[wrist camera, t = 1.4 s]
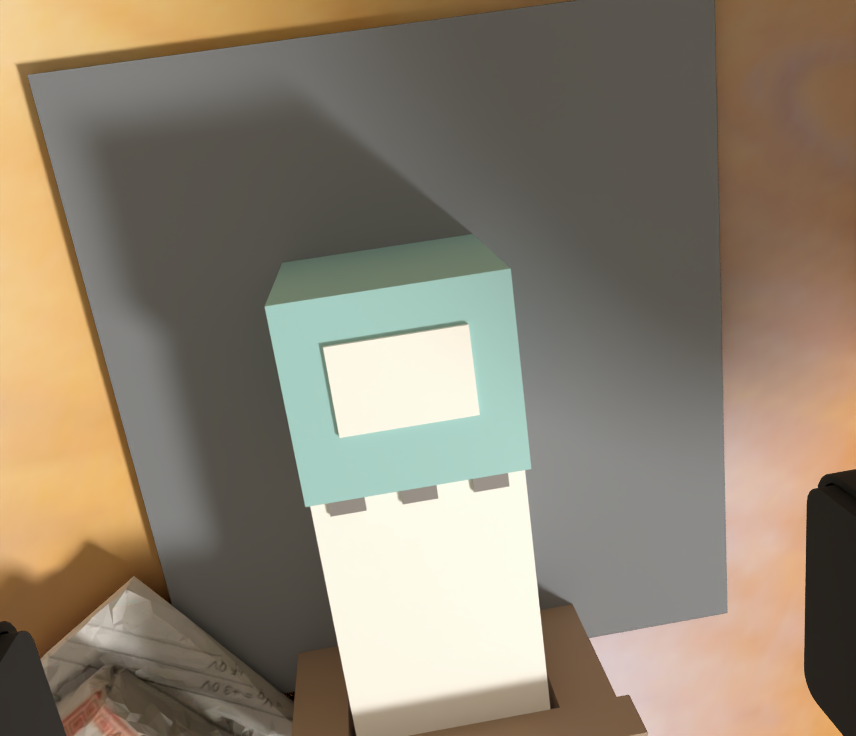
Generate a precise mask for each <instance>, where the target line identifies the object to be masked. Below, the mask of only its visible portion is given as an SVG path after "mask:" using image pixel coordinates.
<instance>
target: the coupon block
mask: <svg viewBox="0 0 856 736" xmlns="http://www.w3.org/2000/svg"><path fill="white" fill-rule="evenodd" d="M310 508H311V513H312V518H313V523H314V528H315V533H316V538H317V543H318V548H319V553H320V558H321V563H322V567H323V572H324V577H325V582H326V587H327V592H328V597H329V602H330V607H331V612H332V617H333V622H334V627H335V632H336V637H337V642H338V646H336V647H330V648H325V649H319V650H314V651H308V652H302V653H298V662H297V675H296V687H295V699H294V712H293V724H292V736H648V732H647V730H646V728H645V726H644V724H643V722H642V720H641V718H640V716H639V714H638V712H637V710H636V708H635V706H634V704H633V702H632V700H631V698H630V696H629V695H625V696H620V697H616V695H615V693H614V691H613V689H612V686H611V684H610V682H609V680H608V678H607V676H606V674H605V672H604V669H603V667H602V665H601V663H600V661H599V659H598V657H597V655H596V653H595V650H594V648H593V646H592V644H591V642H590V640H589V638H588V636H587V633H586V631H585V629H584V627H583V625H582V623H581V621H580V619H579V617H578V614H577V612H576V610H575V608H574V606H573V604H571V605H565V606H560V607H554V608H549V609H543V610H540V606H539V597H538V587H537V578H536V568H535V559H534V550H533V540H532V531H531V521H530V512H529V503H528V493H527V484H526V474H525V470H523V471H517V472H511V473H505V474H499V475H493V476H487V477H481V478H475V479H469V480H463V481H457V482H451V483H446V484H440V485H434V486H428V487H422V488H416V489H410V490H404V491H398V492H392V493H386V494H380V495H374V496H368V497H363V498H357V499H351V500H345V501H339V502H333V503H327V504H321V505H315V506H310Z"/></svg>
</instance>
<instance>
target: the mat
mask: <svg viewBox="0 0 856 736" xmlns="http://www.w3.org/2000/svg"><path fill="white" fill-rule="evenodd" d="M27 76H28V79H29V83H30V87H31V90H32V94H33V98H34V101H35V105H36V109H37V112H38V116H39V120H40V123H41V127H42V131H43V134H44V138H45V142H46V145H47V149H48V153H49V156H50V160H51V164H52V167H53V171H54V175H55V178H56V182H57V186H58V189H59V193H60V197H61V200H62V204H63V208H64V211H65V215H66V219H67V222H68V226H69V230H70V233H71V237H72V241H73V244H74V248H75V252H76V255H77V259H78V262H79V266H80V270H81V273H82V277H83V281H84V284H85V288H86V292H87V295H88V299H89V303H90V306H91V310H92V314H93V317H94V321H95V325H96V328H97V332H98V336H99V339H100V343H101V347H102V350H103V354H104V358H105V361H106V365H107V369H108V372H109V376H110V380H111V383H112V387H113V391H114V394H115V398H116V402H117V405H118V409H119V413H120V416H121V420H122V424H123V427H124V431H125V435H126V438H127V442H128V446H129V449H130V453H131V457H132V460H133V464H134V468H135V471H136V475H137V479H138V482H139V486H140V490H141V493H142V497H143V501H144V504H145V508H146V512H147V515H148V519H149V523H150V526H151V530H152V534H153V537H154V541H155V545H156V548H157V552H158V556H159V559H160V563H161V566H162V570H163V574H164V577H165V581H166V585H167V588H168V592H169V596H170V599H171V603H172V606H173V607H174V608H176V609H177V610H178V611H180V612H181V613H182V614H183V615H185V616H186V617H187V618H188V619H190V620H191V621H192V622H193V623H195V624H196V625H197V626H198V627H200V628H201V629H202V630H203V631H205V632H206V633H207V634H208V635H210V636H211V637H212V638H213V639H215V640H216V641H217V642H218V643H220V644H221V645H222V646H223V647H225V648H226V649H227V650H228V651H230V652H231V653H232V654H233V655H235V656H236V657H237V658H238V659H240V660H241V661H242V662H243V663H245V664H246V665H247V666H248V667H250V668H251V669H252V670H253V671H255V672H256V673H257V674H258V675H260V676H261V677H262V678H263V679H265V680H266V681H267V682H269V683H270V684H271V685H273V686H274V687H275V688H276V689H278V690H279V691H280V692H282V693H289V692H294V691H295V687H296V675H297V662H298V653H302V652H308V651H314V650H319V649H325V648H330V647H336V646H338V642H337V637H336V632H335V627H334V622H333V617H332V612H331V607H330V602H329V597H328V592H327V587H326V582H325V577H324V572H323V567H322V563H321V558H320V553H319V548H318V543H317V538H316V533H315V528H314V523H313V518H312V513H311V508H310V506H309V507H305V503H304V498H303V493H302V488H301V483H300V478H299V474H298V469H297V464H296V459H295V454H294V449H293V444H292V439H291V434H290V429H289V424H288V419H287V415H286V410H285V405H284V400H283V395H282V390H281V385H280V380H279V375H278V370H277V365H276V361H275V356H274V351H273V346H272V341H271V336H270V331H269V326H268V321H267V316H266V311H265V304H266V302H267V299H268V297H269V294H270V292H271V289H272V287H273V284H274V282H275V279H276V277H277V274H278V272H279V270H280V267H281V265H282V263H284V262H291V261H297V260H304V259H310V258H317V257H324V256H330V255H337V254H344V253H350V252H357V251H363V250H370V249H377V248H383V247H390V246H396V245H403V244H410V243H416V242H423V241H429V240H436V239H443V238H449V237H456V236H463V235H469V234H473V235H474V236H475V237H477V238H478V239H479V240H480V241H481V242H482V243H483V244H484V245H485V246H486V247H488V248H489V249H490V250H491V251H492V252H493V253H494V254H495V255H496V256H497V257H499V258H500V259H501V260H502V261H503V262H504V263H505V264H506V265H507V266H508V267H510V268H511V276H512V286H513V296H514V305H515V315H516V325H517V334H518V344H519V354H520V363H521V373H522V383H523V392H524V402H525V412H526V421H527V431H528V441H529V450H530V460H531V469H529V470H525V474H526V484H527V493H528V503H529V512H530V521H531V531H532V540H533V550H534V559H535V568H536V578H537V587H538V597H539V606H540V610H543V609H549V608H554V607H560V606H565V605H571V604H573V606H574V608H575V610H576V612H577V614H578V617H579V619H580V621H581V623H582V625H583V627H584V629H585V631H586V633H587V636H588V638H592V637H597V636H603V635H608V634H614V633H619V632H625V631H631V630H636V629H642V628H647V627H653V626H658V625H664V624H669V623H675V622H680V621H686V620H691V619H697V618H702V617H708V616H713V615H719V614H724V613H727V568H726V520H725V473H724V425H723V377H722V329H721V281H720V234H719V186H718V138H717V90H716V43H715V0H576V1H568V2H561V3H554V4H546V5H539V6H532V7H524V8H517V9H509V10H502V11H495V12H487V13H480V14H473V15H465V16H458V17H451V18H443V19H436V20H428V21H421V22H414V23H406V24H399V25H392V26H384V27H377V28H370V29H362V30H355V31H347V32H340V33H333V34H325V35H318V36H311V37H303V38H296V39H288V40H281V41H274V42H266V43H259V44H252V45H244V46H237V47H230V48H222V49H215V50H207V51H200V52H193V53H185V54H178V55H171V56H163V57H156V58H148V59H141V60H134V61H126V62H119V63H112V64H104V65H97V66H90V67H82V68H75V69H67V70H60V71H53V72H45V73H38V74H31V75H27Z"/></svg>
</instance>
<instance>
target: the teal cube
mask: <svg viewBox="0 0 856 736" xmlns="http://www.w3.org/2000/svg"><path fill="white" fill-rule="evenodd" d="M265 311H266V316H267V321H268V326H269V331H270V336H271V341H272V346H273V351H274V356H275V361H276V365H277V370H278V375H279V380H280V385H281V390H282V395H283V400H284V405H285V410H286V415H287V419H288V424H289V429H290V434H291V439H292V444H293V449H294V454H295V459H296V464H297V469H298V474H299V478H300V483H301V488H302V493H303V498H304V503H305V507H309V506H315V505H321V504H327V503H333V502H339V501H345V500H351V499H357V498H363V497H368V496H374V495H380V494H386V493H392V492H398V491H404V490H410V489H416V488H422V487H428V486H434V485H440V484H446V483H451V482H457V481H463V480H469V479H475V478H481V477H487V476H493V475H499V474H505V473H511V472H517V471H523V470H529V469H531V460H530V450H529V441H528V431H527V421H526V412H525V402H524V392H523V383H522V373H521V363H520V354H519V344H518V334H517V325H516V315H515V305H514V296H513V286H512V276H511V268H510V267H508V266H507V265H506V264H505V263H504V262H503V261H502V260H501V259H500V258H499V257H497V256H496V255H495V254H494V253H493V252H492V251H491V250H490V249H489V248H488V247H486V246H485V245H484V244H483V243H482V242H481V241H480V240H479V239H478V238H477V237H475V236H474V235H473V234H469V235H463V236H456V237H449V238H443V239H436V240H429V241H423V242H416V243H410V244H403V245H396V246H390V247H383V248H377V249H370V250H363V251H357V252H350V253H344V254H337V255H330V256H324V257H317V258H310V259H304V260H297V261H291V262H284V263H282V265H281V267H280V270H279V272H278V274H277V277H276V279H275V282H274V284H273V287H272V289H271V292H270V294H269V297H268V299H267V302H266V304H265Z"/></svg>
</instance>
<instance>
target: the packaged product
mask: <svg viewBox="0 0 856 736" xmlns="http://www.w3.org/2000/svg"><path fill="white" fill-rule="evenodd" d="M40 660H41V663H42V666H43V669H44V672H45V674H46V677H47V680H48V683H49V686H50V689H51V692H52V695H53V698H54V701H55V703H56V706H57V709H58V712H59V715H60V718H61V721H62V724H63V727H64V730H65V733H66V735H67V736H292V724H293V712H294V702H293V701H292V700H291V699H289V698H288V697H287V696H285V695H284V694H283V693H282V692H280V691H279V690H278V689H276V688H275V687H274V686H273V685H271V684H270V683H269V682H267V681H266V680H265V679H263V678H262V677H261V676H260V675H258V674H257V673H256V672H255V671H253V670H252V669H251V668H250V667H248V666H247V665H246V664H245V663H243V662H242V661H241V660H240V659H238V658H237V657H236V656H235V655H233V654H232V653H231V652H230V651H228V650H227V649H226V648H225V647H223V646H222V645H221V644H220V643H218V642H217V641H216V640H215V639H213V638H212V637H211V636H210V635H208V634H207V633H206V632H205V631H203V630H202V629H201V628H200V627H198V626H197V625H196V624H195V623H193V622H192V621H191V620H190V619H188V618H187V617H186V616H185V615H183V614H182V613H181V612H180V611H178V610H177V609H176V608H174V607H173V606H172V605H171V604H169V603H168V602H167V601H166V600H164V599H163V598H162V597H160V596H159V595H158V594H157V593H155V592H154V591H153V590H151V589H150V588H149V587H148V586H146V585H145V584H144V583H143V582H141V581H140V580H139V579H137V578H136V577H135V576H133V577H132V578H131V579H130V580H129V581H127V582H126V583H125V584H124V585H123V586H122V587H121V588H120V589H118V590H117V591H116V592H115V593H114V594H113V595H112V596H110V597H109V598H108V599H107V600H106V601H105V602H104V603H102V604H101V605H100V606H99V607H98V608H97V609H96V610H94V611H93V612H92V613H91V614H90V615H89V616H88V617H86V618H85V619H84V620H83V621H82V622H81V623H80V624H79V625H77V626H76V627H75V628H74V629H73V630H72V631H71V632H69V633H68V634H67V635H66V636H65V637H64V638H63V639H61V640H60V641H59V642H58V643H57V644H56V645H55V646H53V647H52V648H51V649H50V650H49V651H48V652H47V653H46V654H45V655H44V656H43V657H42V658H41V659H40Z"/></svg>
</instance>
